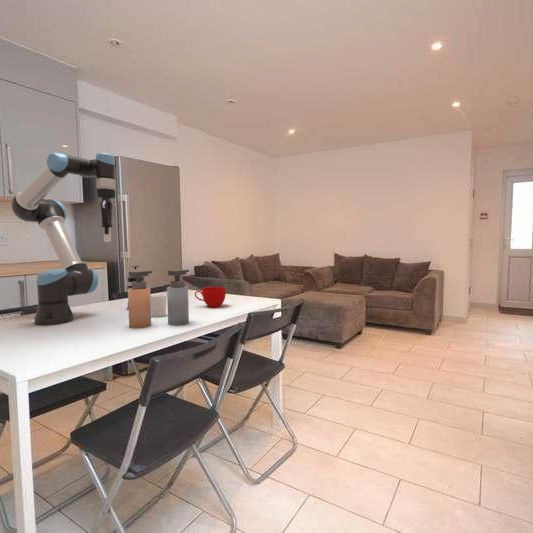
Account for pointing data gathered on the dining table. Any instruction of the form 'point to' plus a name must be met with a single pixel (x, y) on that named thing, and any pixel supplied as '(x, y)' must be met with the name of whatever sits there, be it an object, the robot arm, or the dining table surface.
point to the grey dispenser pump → (139, 275)
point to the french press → (133, 280)
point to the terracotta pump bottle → (139, 305)
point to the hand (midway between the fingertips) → (107, 241)
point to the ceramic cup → (213, 296)
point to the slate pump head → (177, 273)
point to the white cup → (158, 305)
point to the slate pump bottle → (178, 303)
